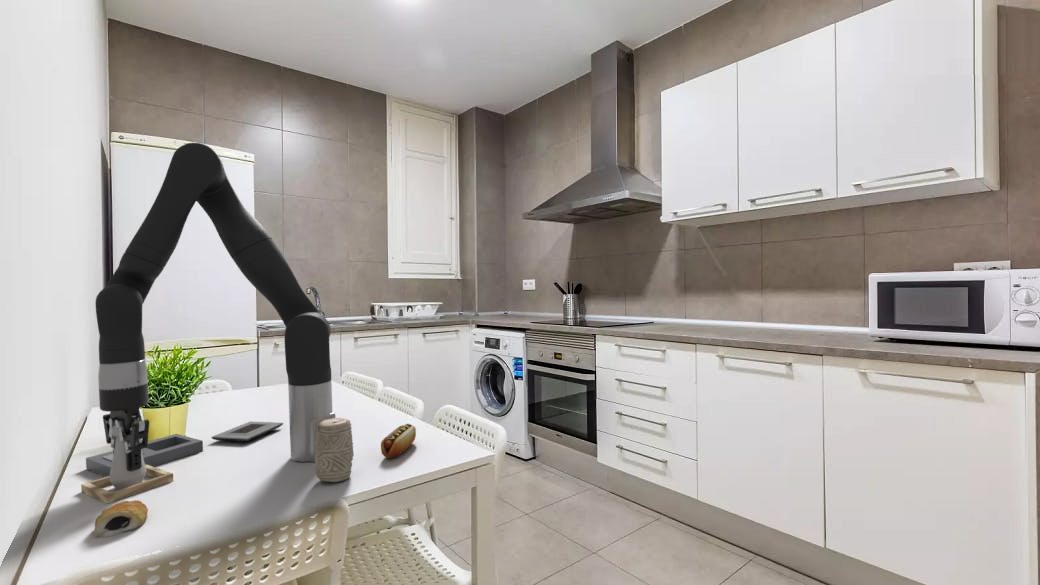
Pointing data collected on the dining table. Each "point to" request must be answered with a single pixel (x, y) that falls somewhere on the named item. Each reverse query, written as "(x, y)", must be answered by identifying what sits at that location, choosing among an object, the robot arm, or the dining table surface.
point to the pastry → (120, 518)
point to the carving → (334, 450)
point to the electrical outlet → (247, 431)
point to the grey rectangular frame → (151, 453)
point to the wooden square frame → (107, 497)
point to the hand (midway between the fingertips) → (127, 467)
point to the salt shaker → (123, 466)
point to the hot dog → (398, 441)
